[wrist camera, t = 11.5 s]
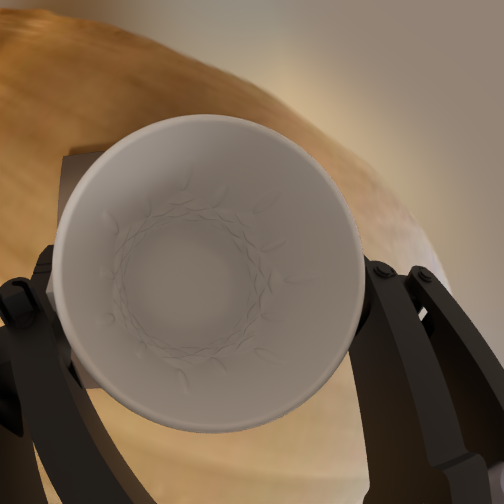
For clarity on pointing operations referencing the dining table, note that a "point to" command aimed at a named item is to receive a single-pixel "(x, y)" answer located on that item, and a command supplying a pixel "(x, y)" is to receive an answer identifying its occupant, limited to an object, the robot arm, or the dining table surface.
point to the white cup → (208, 273)
